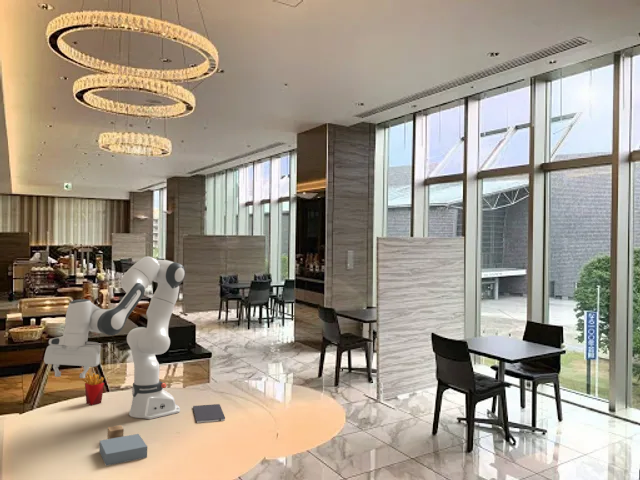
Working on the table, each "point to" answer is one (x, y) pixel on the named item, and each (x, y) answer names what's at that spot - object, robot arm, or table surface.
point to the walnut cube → (115, 432)
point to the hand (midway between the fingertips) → (69, 377)
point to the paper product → (208, 413)
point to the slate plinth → (122, 449)
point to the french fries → (93, 389)
